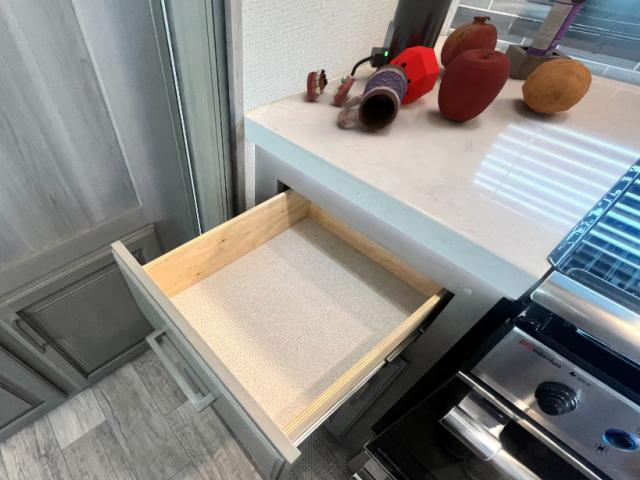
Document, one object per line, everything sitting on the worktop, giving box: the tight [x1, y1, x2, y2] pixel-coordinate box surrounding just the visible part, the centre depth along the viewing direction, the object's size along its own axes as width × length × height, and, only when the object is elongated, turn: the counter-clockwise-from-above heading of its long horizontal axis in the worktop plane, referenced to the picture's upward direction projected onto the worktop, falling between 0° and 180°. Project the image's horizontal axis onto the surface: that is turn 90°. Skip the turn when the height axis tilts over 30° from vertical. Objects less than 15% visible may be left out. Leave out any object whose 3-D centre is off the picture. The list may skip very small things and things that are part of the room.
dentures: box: [306, 68, 356, 106], centre depth 62 cm, size 6×5×9 cm
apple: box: [437, 49, 510, 122], centre depth 54 cm, size 10×10×10 cm
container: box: [527, 0, 585, 56], centre depth 65 cm, size 5×5×15 cm
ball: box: [390, 46, 441, 105], centre depth 60 cm, size 8×8×8 cm
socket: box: [504, 43, 573, 80], centre depth 71 cm, size 9×9×4 cm
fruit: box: [440, 15, 498, 69], centre depth 68 cm, size 11×10×10 cm
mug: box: [337, 64, 408, 132], centre depth 56 cm, size 10×7×12 cm
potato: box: [521, 58, 593, 115], centre depth 57 cm, size 9×11×8 cm
